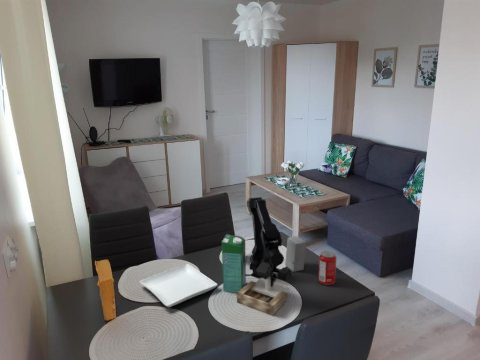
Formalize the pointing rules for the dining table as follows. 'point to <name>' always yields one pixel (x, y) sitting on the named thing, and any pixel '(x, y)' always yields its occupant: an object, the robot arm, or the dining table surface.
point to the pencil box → (260, 299)
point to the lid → (268, 287)
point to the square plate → (178, 284)
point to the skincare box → (295, 253)
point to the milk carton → (233, 263)
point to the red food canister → (327, 267)
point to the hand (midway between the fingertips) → (270, 286)
